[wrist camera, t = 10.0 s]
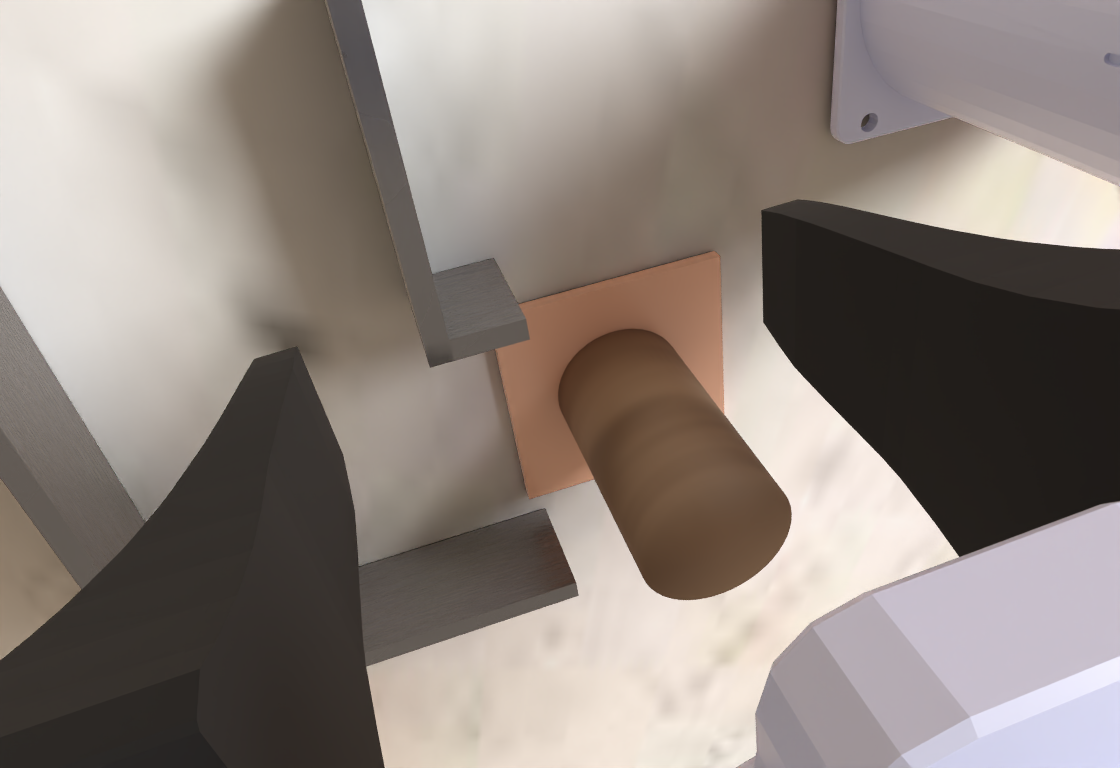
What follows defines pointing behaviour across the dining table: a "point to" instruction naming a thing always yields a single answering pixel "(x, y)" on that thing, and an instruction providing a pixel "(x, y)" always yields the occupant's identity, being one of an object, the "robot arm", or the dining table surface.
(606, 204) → the dining table surface
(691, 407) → the walnut peg
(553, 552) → the rail channel
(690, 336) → the coaster
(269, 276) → the dining table surface
